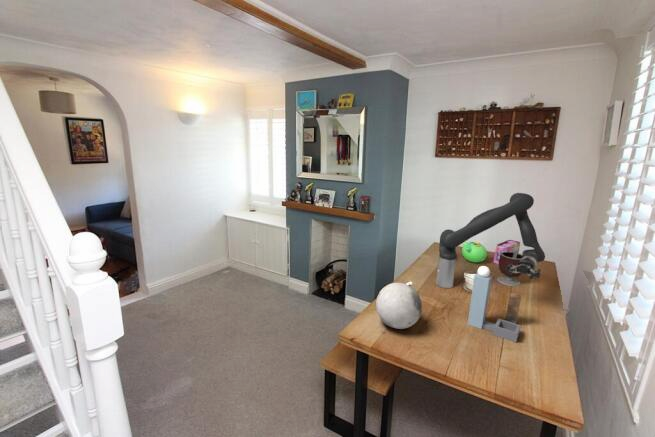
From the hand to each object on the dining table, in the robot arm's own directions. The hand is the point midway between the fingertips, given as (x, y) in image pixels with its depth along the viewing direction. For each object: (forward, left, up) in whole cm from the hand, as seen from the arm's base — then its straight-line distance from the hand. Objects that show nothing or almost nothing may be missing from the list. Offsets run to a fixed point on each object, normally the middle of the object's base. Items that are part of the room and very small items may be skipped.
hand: (520, 275), depth 153 cm
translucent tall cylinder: (-1, -11, -20) cm, 23 cm away
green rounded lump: (-24, +69, -21) cm, 76 cm away
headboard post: (-9, -22, -20) cm, 31 cm away
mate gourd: (-1, +43, -21) cm, 48 cm away
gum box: (-3, +83, -21) cm, 86 cm away
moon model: (-47, -41, -21) cm, 66 cm away
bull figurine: (-51, -13, -21) cm, 57 cm away
